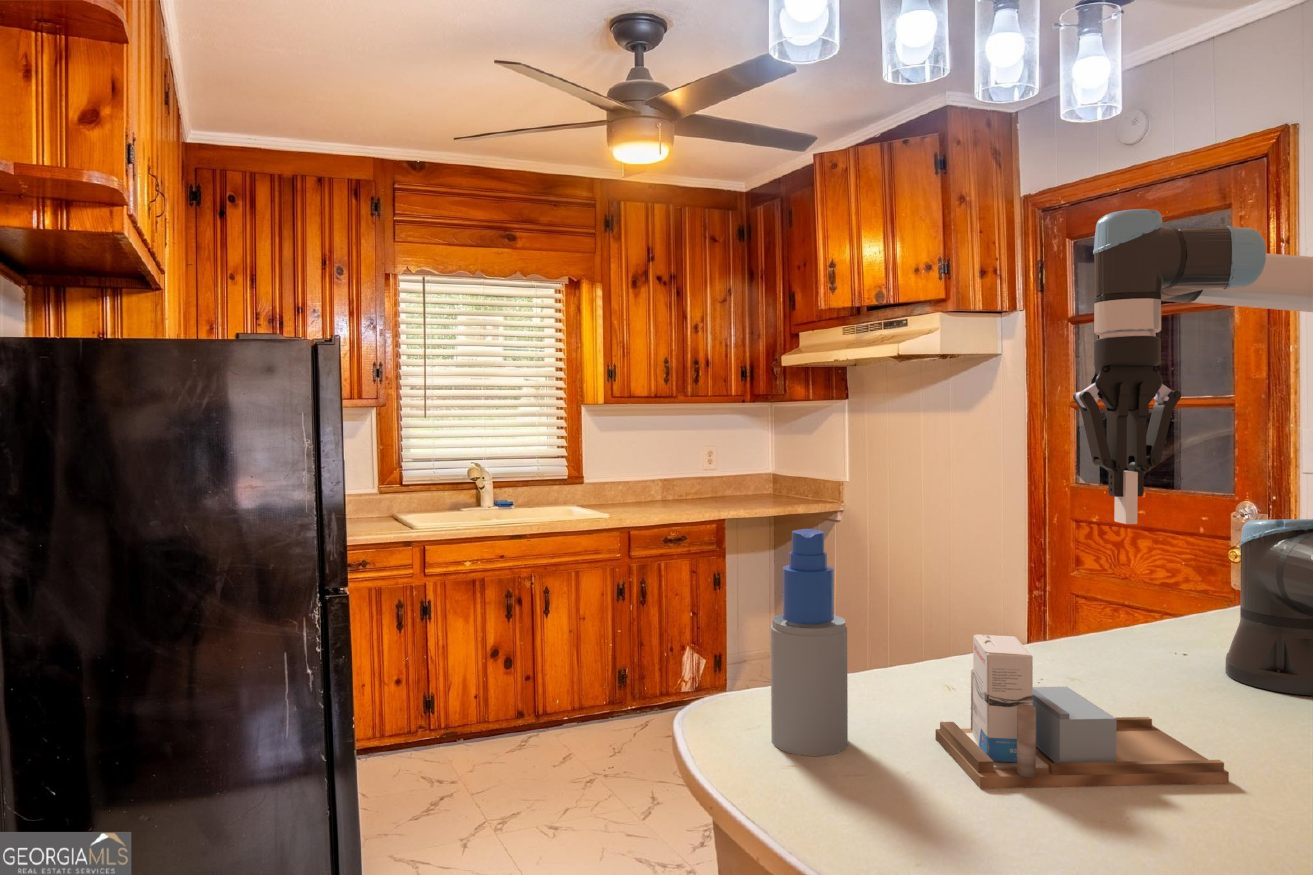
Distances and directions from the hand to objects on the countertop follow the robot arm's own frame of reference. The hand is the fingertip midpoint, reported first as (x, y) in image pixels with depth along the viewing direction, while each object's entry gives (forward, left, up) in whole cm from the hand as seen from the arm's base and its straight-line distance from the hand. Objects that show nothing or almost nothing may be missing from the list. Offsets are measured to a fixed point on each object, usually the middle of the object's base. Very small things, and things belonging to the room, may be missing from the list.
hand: (1125, 522), depth 116 cm
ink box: (+22, +15, -23) cm, 35 cm away
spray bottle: (+42, +8, -25) cm, 49 cm away
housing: (+15, +15, -23) cm, 31 cm away
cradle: (+14, +15, -24) cm, 32 cm away
